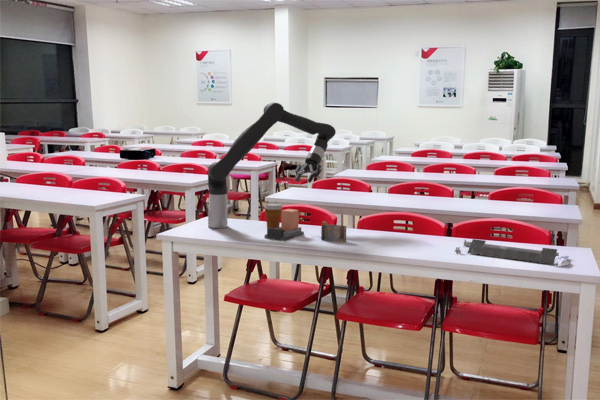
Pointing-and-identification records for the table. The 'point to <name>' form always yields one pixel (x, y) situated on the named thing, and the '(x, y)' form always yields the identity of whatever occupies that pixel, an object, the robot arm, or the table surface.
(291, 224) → the salmon pink block
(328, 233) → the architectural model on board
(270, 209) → the disposable coffee cup
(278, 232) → the rail base
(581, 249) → the table surface
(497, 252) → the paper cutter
